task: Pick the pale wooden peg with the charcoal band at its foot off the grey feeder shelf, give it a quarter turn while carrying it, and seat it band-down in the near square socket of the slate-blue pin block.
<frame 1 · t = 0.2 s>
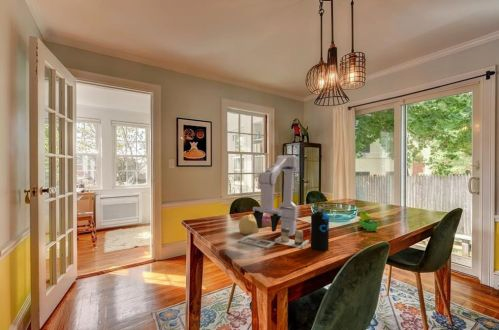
hand: (266, 229, 107), 10 cm above the table, tool pointing down, fingers open, 7 cm apart
green lumpy piece: (367, 229, 147), on the table
donut: (264, 225, 154), on the table
feeder shelf: (291, 245, 115), on the table
pin block: (256, 245, 114), on the table
aerosol can: (319, 251, 108), on the table
plain peg: (285, 241, 117), point 1 cm above the table, touching feeder shelf
sculpture: (249, 233, 134), on the table
banded peg: (298, 243, 113), point 1 cm above the table, touching feeder shelf
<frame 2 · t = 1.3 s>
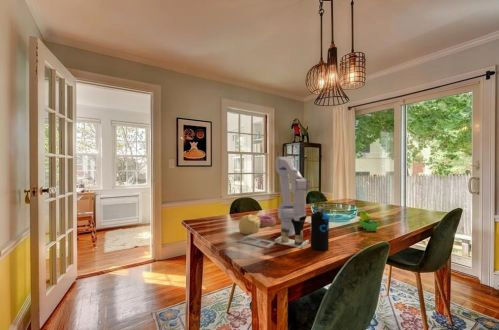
hand: (299, 232, 113), 7 cm above the table, tool pointing down, fingers open, 7 cm apart
nothing on the table moved.
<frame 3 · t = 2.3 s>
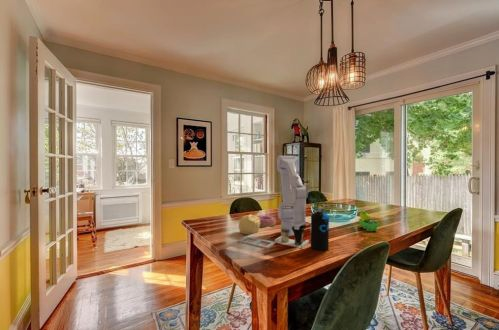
hand: (298, 240, 113), 3 cm above the table, tool pointing down, fingers closed on banded peg, 4 cm apart
banded peg: (298, 243, 113), point 1 cm above the table, touching feeder shelf, gripper
everything else where it was.
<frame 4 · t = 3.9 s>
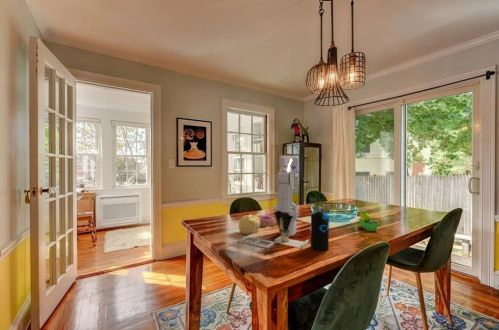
hand: (283, 228, 109), 10 cm above the table, tool pointing down, fingers closed on banded peg, 4 cm apart
banded peg: (283, 231, 109), point 8 cm above the table, touching gripper
everything else where it was.
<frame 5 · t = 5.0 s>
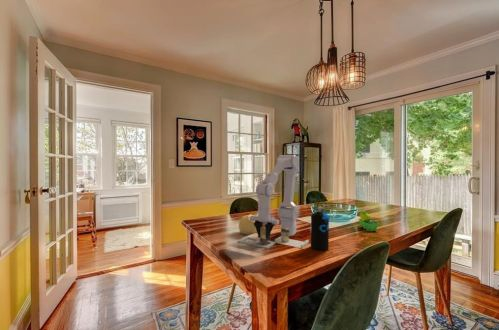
hand: (263, 237, 112), 4 cm above the table, tool pointing down, fingers closed on banded peg, 4 cm apart
banded peg: (263, 240, 113), point 3 cm above the table, touching gripper
everything else where it was.
when the fingers open (3 cm above the table, at t = 5.7 s): banded peg drops 1 cm, resting in pin block.
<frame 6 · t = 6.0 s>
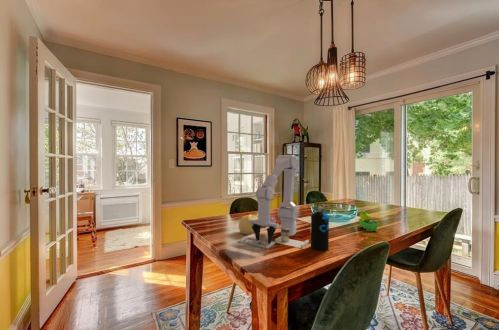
hand: (263, 241, 112), 3 cm above the table, tool pointing down, fingers open, 6 cm apart
banded peg: (263, 247, 113), resting in pin block
everything else where it was.
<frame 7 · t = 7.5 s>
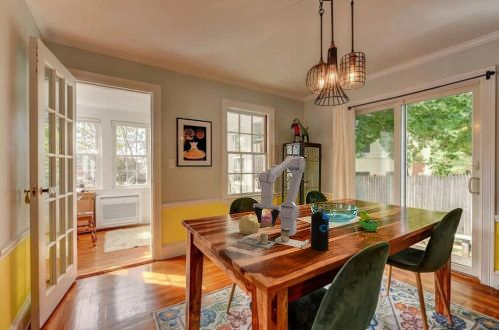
hand: (266, 223, 117), 10 cm above the table, tool pointing down, fingers open, 7 cm apart
nothing on the table moved.
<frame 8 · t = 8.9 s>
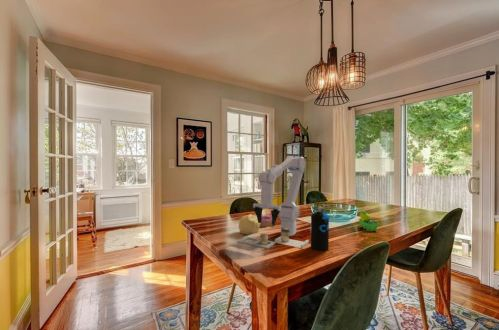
hand: (266, 223, 117), 10 cm above the table, tool pointing down, fingers open, 7 cm apart
nothing on the table moved.
at the end: banded peg 0.2 cm from the target spot on the pin block, point 0.0 cm above the pin block's base; banded peg tilted 0°; the gripper is holding nothing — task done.
